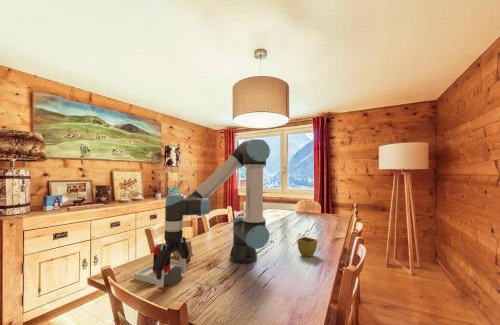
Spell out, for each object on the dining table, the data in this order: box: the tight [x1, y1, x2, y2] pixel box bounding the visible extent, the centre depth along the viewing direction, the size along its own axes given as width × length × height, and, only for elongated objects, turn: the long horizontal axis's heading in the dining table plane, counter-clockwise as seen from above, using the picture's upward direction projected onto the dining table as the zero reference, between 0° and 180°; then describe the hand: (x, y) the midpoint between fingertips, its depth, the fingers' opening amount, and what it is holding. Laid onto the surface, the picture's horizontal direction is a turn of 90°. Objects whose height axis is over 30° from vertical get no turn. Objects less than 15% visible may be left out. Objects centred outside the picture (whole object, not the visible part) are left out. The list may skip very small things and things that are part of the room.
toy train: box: [171, 235, 194, 261], centre depth 126 cm, size 6×17×10 cm, turn 39°
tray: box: [133, 258, 187, 286], centre depth 107 cm, size 13×19×2 cm
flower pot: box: [296, 236, 318, 258], centre depth 131 cm, size 9×9×9 cm
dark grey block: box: [164, 266, 182, 287], centre depth 98 cm, size 5×5×6 cm
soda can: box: [152, 242, 172, 274], centre depth 107 cm, size 8×8×12 cm
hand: (172, 279), depth 98 cm, fingers open, 13 cm apart
